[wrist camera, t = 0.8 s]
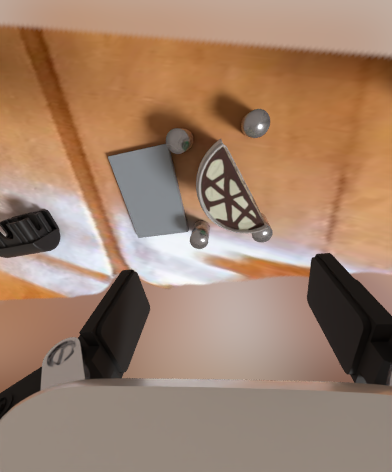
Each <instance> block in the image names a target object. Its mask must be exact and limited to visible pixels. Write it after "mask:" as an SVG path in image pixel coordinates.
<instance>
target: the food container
mask: <svg viewBox="0 0 392 472" xmlns="http://www.w3.org/2000/svg"><path fill="white" fill-rule="evenodd" d="M196 191H197V196H198V199H199V202H200V205H201V207H202V209H203V211H204V212H205V214H206V215H207V216H208V218H209V219H210V220H211V221H213V222H214V223H215V224H216V225H218V226H219V227H222V228H224V229H226V230H228V231H231V232H236V233H255V232H259V231H262V230H265V229H268V228H267V226H266V224H265V222H264V220H263V218H262V216H261V213H260V211H259V209H258V207H257V205H256V203H255V200H254V198H253V196H252V194H251V193H250V191H249V189H248V187H247V185H246V183H245V181H244V179H243V177H242V175H241V173H240V172H239V170H238V168H237V166H236V164H235V162H234V160H233V158H232V156H231V154H230V152H229V151H228V149H227V147H226V146H225V145H224V144H223V143H222V140H221V139H219V140H218V141H217V142H216V143H215V144H214V145H213V146H212V147H211V148H210V149H209V150H208V151H207V153H206V154H205V156H204V157H203V159H202V161H201V163H200V166H199V169H198V172H197V178H196Z"/></svg>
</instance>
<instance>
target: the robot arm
mask: <svg viewBox="0 0 392 472" xmlns="http://www.w3.org/2000/svg"><path fill="white" fill-rule="evenodd" d="M307 301H308V304H309V306H310V308H311V310H312V312H313V313H314V315H315V317H316V319H317V321H318V323H319V325H320V327H321V328H322V330H323V332H324V334H325V336H326V338H327V340H328V342H329V344H330V346H331V347H332V349H333V351H334V353H335V355H336V357H337V359H338V361H339V363H340V364H341V366H342V368H343V370H344V371H345V373H346V374H350V375H351V377H352V379H353V381H354V383H344V382H319V381H275V380H274V381H273V380H270V381H269V380H218V379H135V378H134V379H133V378H132V379H131V378H122V376H123V373H124V372H126V371H127V369H128V367H129V364H130V361H131V359H132V356H133V354H134V351H135V348H136V345H137V343H138V340H139V338H140V335H141V332H142V330H143V327H144V324H145V322H146V319H147V317H148V314H149V311H150V305H149V302H148V300H147V297H146V295H145V292H144V289H143V287H142V284H141V281H140V279H139V276H138V274H137V272H134V270H123V271H122V272H121V273H120V274H119V276H118V277H117V279H116V280H115V282H114V283H113V284H112V286H111V287H110V289H109V290H108V292H107V293H106V295H105V296H104V298H103V299H102V300H101V302H100V303H99V305H98V306H97V308H96V309H95V311H94V312H93V313H92V315H91V316H90V318H89V319H88V321H87V322H86V324H85V325H84V326H83V328H82V330H81V331H80V336H79V337H78V338H76V337H71V338H67V339H64V340H62V341H60V342H59V343H58V344H56V345H55V346H54V347H52V349H51V350H50V351H49V352H48V353H47V354H46V356H45V358H44V359H43V364H42V367H40V368H39V369H38V370H36V371H34V372H33V373H31V374H30V375H28V376H26V377H25V378H23V379H22V380H20V381H19V382H17V383H16V384H14V385H12V386H11V387H9V388H8V389H6V390H5V391H3V392H1V393H0V472H392V316H391V315H390V314H389V313H388V312H387V310H385V308H384V307H383V306H382V305H381V304H380V303H379V302H378V301H377V300H376V299H375V298H374V297H373V296H372V295H371V294H370V293H369V292H368V291H367V289H366V288H365V287H364V286H363V285H362V284H361V283H360V282H359V281H358V280H356V279H354V278H353V277H352V276H351V275H350V274H349V272H348V271H347V270H346V269H345V268H344V267H343V266H342V265H341V264H340V263H339V262H338V261H337V260H336V259H335V257H334V256H333V255H332V254H330V253H324V254H316V256H315V257H313V258H312V260H311V268H310V276H309V285H308V294H307Z"/></svg>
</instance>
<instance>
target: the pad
mask: <svg viewBox="0 0 392 472" xmlns="http://www.w3.org/2000/svg"><path fill="white" fill-rule="evenodd" d="M108 159H109V161H110V164H111V167H112V169H113V172H114V175H115V177H116V180H117V183H118V185H119V188H120V190H121V193H122V196H123V198H124V201H125V204H126V206H127V209H128V212H129V214H130V217H131V220H132V222H133V225H134V228H135V230H136V233H137V236H138V238H142V237H150V236H158V235H166V234H174V233H182V232H188V230H189V228H188V224H187V220H186V216H185V211H184V207H183V203H182V199H181V194H180V190H179V186H178V182H177V178H176V173H175V169H174V165H173V161H172V157H171V152H170V150H169V149H168V147H167V145H166V144H163V145H158V146H154V147H149V148H145V149H140V150H136V151H131V152H127V153H122V154H117V155H113V156H109V157H108Z"/></svg>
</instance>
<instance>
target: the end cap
mask: <svg viewBox="0 0 392 472" xmlns="http://www.w3.org/2000/svg"><path fill="white" fill-rule="evenodd" d="M0 226H1V227H2V229H3V230H4V231H5V233H6V234H7V236H6V237H5V236H4V235H3V234H2V233H1V232H0V256H1V257H5V258H10V257H17V256H23V255H28V254H34V253H40V252H46V251H51V250H53V249H55V248H56V247H57V246H58V244H59V242H60V232H59V228H58V226H57V224H56V222H55V221H54V219H53V218H52V216H51V214H50V213H49V211H48V210H41V211H37V212H33V213H28V214H24V215H19V216H15V217H12V218H11V219H7V220H4V221H2V222H0Z"/></svg>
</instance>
